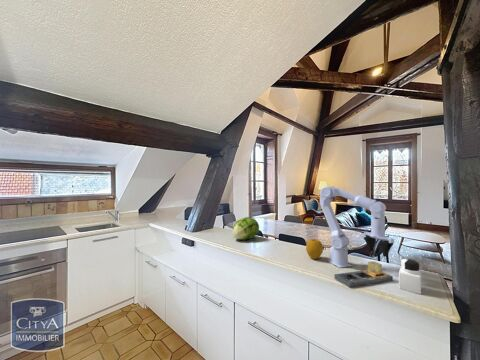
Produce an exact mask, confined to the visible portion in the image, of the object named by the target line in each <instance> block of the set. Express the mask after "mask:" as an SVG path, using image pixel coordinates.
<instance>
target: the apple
mask: <svg viewBox="0 0 480 360" xmlns="http://www.w3.org/2000/svg"><path fill="white" fill-rule="evenodd" d="M305 247H306V248H305V251H306V253H307V255H308V257H309V258H310V259H312V260H317V259H320V257H321V256H322V254H323V251H324V246H323V244H322V242H321V241H320V240H319V239H318V238H311V239H309V240H308V241H307V243H306V246H305Z"/></svg>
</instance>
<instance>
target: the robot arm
mask: <svg viewBox="0 0 480 360" xmlns="http://www.w3.org/2000/svg"><path fill="white" fill-rule="evenodd" d="M336 197H342V198H344V199H347V200H349V201H353V202H354V203H355V205H356V206H358V207H360V208H363V209H365V210H367V211H370V214H371V216H370V232H368V231H364V232H363V236H364V237H363V239H364V241H365V243H366V246H367V249H368V252H372V253H373V252H374V249H375V240H380V244H381V249H382V257H384V258H386V257H389V252H390V250H391V249H392V247H393V245H394V243H395V238H392V237H389V236H387V235H386V217H385V215H386V214H385V211H386V210H387V206H386V205H385V203H383V202H382V201H377V199H372V198H369V197H367V195H366V194H363V195H362V194H361V195H360V194H359V195H356V194H353V193H352V192H349V191H347V190H345V189H343V188H339V187H335V186H326V185H325V186H323V187H322V188H321V190H320V191H319V204H320V207H321V210H322V212H323V214H324V217H325V221H326V222H327V225H328V228H329V230H330V232H331V234H330V239H331V245H332V246H330V248H329V249H328V250H329V251H328V253H329V256H328V262H329V264H330V263H331V264H332V265H334V266H336V267H337V268H347V267H349V268H350V267H352V264H349V259H348V258H349V251H348V250H349V249H348V246H349V244H350V238H348V236H347V235H346V233H345V232H344V231H343V230H342V229H341V226H340V224H339V221H338V219H337V217H336V214H335V212H334V210H333V207H332V204H331V203H332V201H333V200H334V199H335V198H336Z"/></svg>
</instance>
